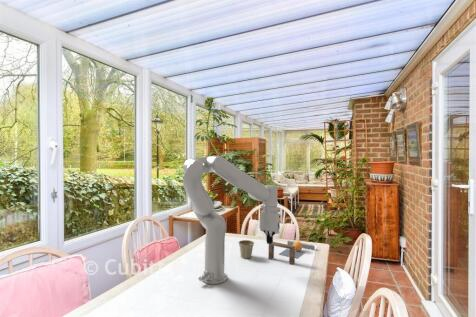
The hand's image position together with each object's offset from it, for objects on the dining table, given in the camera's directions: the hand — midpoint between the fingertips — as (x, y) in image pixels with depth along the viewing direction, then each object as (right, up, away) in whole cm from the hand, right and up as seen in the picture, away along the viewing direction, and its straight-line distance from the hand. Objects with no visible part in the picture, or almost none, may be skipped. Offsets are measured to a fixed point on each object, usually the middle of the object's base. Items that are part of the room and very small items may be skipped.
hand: (269, 243), depth 149 cm
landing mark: (+16, -14, +25) cm, 33 cm away
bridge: (+8, -14, +13) cm, 21 cm away
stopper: (+25, -14, +38) cm, 47 cm away
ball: (+21, -11, +30) cm, 38 cm away
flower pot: (-12, -14, +19) cm, 26 cm away
